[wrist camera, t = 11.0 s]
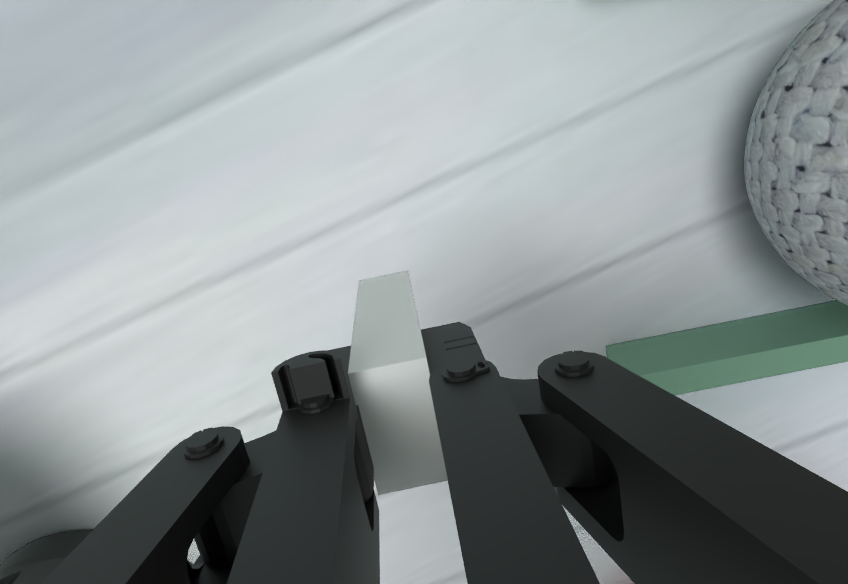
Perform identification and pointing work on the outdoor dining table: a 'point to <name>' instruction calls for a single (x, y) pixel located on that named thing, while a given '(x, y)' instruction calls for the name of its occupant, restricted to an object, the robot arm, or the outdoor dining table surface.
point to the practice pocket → (739, 349)
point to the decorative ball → (805, 153)
